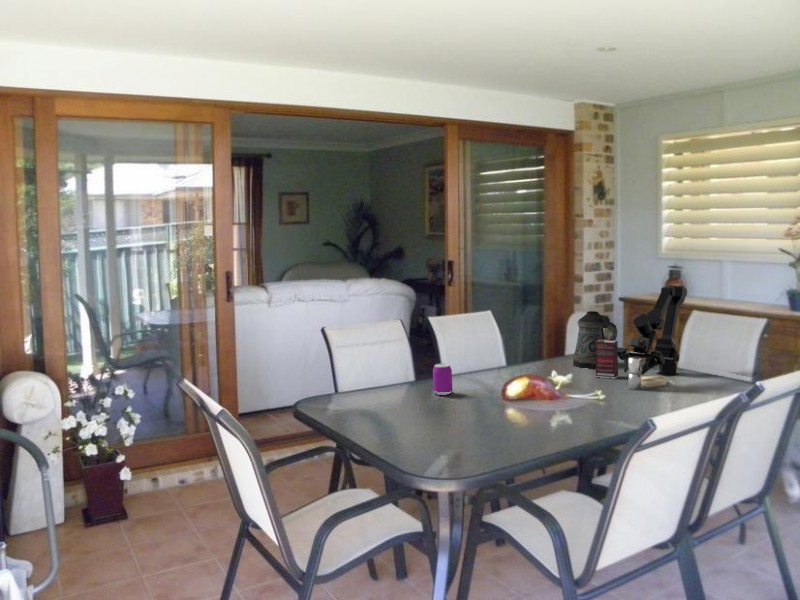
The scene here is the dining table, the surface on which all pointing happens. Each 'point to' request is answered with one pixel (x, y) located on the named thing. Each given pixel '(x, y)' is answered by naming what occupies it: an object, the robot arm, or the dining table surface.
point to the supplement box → (606, 359)
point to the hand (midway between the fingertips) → (633, 373)
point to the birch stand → (653, 381)
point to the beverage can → (442, 377)
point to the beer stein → (591, 338)
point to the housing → (634, 373)
